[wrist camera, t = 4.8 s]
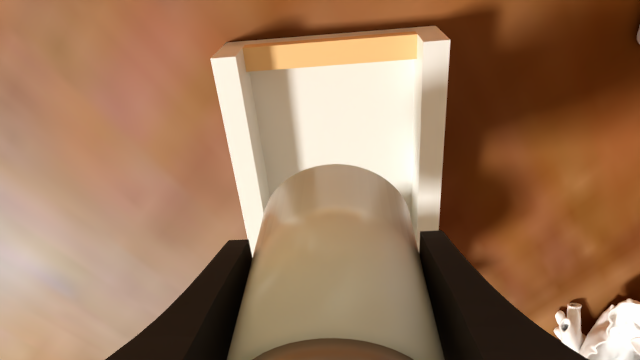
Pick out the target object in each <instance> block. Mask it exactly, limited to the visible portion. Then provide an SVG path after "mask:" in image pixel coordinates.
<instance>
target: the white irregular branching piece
mask: <svg viewBox="0 0 640 360" xmlns="http://www.w3.org/2000/svg"><path fill="white" fill-rule="evenodd" d="M581 307H582V305H581V304H579V303H570V304H568V307H567V318H566V317H565V314H564V312H563V311H561V310H559V311H558V312H557V313H556V315H555V317H556V320H557V323H558V324H559V326H557V327H556V328H555V329H554V333H555V334H556V336H557V337H558V338H559V339H560V340H561V342H562V343H564V344H565V345H567V346H568V347H570V348H571V349H573V350H574V351H576V352H577V353H579V354H581V355H582V356H584V357H585V358H587V359H589V360H640V302H638V301H636V300H633V299H630V298H628V299H627V300H625V301H622V302H620V303H618V304H617V305H616V306H614V305H613V304H612V305H611V306H610V307H609V308H608V309H607V310H606V311H604V312H603V313H602V315H601V316H600V317H599V319H598V320H597V321H596V323H595V325H594V326H593V327H592V329H591V330H590V332H589V333H588V334H587V336H585V335H584V334H582V332H581Z"/></svg>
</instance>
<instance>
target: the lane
mask: <svg viewBox="0 0 640 360" xmlns="http://www.w3.org/2000/svg"><path fill="white" fill-rule="evenodd" d="M449 55H450V39H449V38H448V37H447V36H446V35H445V34H444V33H443V32H442V31H441V30H440V29H439V28H438V27H437V26H425V27H412V28H400V29H387V30H375V31H362V32H350V33H338V34H325V35H313V36H300V37H288V38H275V39H263V40H250V41H238V42H226V43H225V44H224V45H223V46H222V47H221V48H220V49H219V50H218V51H217V52H216V53H215V54H214V55H213V56H212V57H211V58H210V59H211V64H212V69H213V74H214V79H215V83H216V88H217V93H218V98H219V103H220V107H221V112H222V117H223V122H224V127H225V131H226V136H227V141H228V146H229V151H230V156H231V160H232V165H233V170H234V175H235V180H236V184H237V189H238V194H239V199H240V204H241V208H242V213H243V218H244V223H245V228H246V233H247V237H248V240H249V244H250V248H251V253H252V258H253V254H254V250H255V246H256V242H257V239H258V235H259V231H260V227H261V223H262V219H263V215H264V211H265V208H266V205H267V203H268V201H269V199H270V197H271V195H272V194H273V193H274V191H275V190H276V189H277V188H278V187H279V186H280V185H281V184H282V183H283V182H284V181H285V180H287V179H288V178H290V177H291V176H293V175H295V174H296V173H298V172H301V171H303V170H305V169H308V168H312V167H315V166H320V165H326V164H345V165H352V166H358V167H361V168H364V169H367V170H370V171H372V172H374V173H376V174H378V175H380V176H381V177H383V178H385V179H386V180H387V181H389V182H390V183H391V184H392V185H393V186H394V187H395V188H396V189H397V190H398V191H399V193H400V194H401V195H402V197H403V198H404V200H405V202H406V204H407V207H408V210H409V214H410V218H411V222H412V226H413V230H414V234H415V239H416V243H417V247H418V251H419V247H420V231H437V230H439V216H440V200H441V184H442V167H443V151H444V135H445V119H446V103H447V87H448V71H449Z"/></svg>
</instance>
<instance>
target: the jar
mask: <svg viewBox="0 0 640 360" xmlns="http://www.w3.org/2000/svg"><path fill="white" fill-rule="evenodd" d="M227 360H445V359H444V355H443V351H442V347H441V342H440V338H439V334H438V330H437V326H436V322H435V317H434V313H433V309H432V305H431V301H430V297H429V293H428V288H427V284H426V280H425V276H424V272H423V268H422V263H421V259H420V255H419V251H418V247H417V243H416V239H415V234H414V230H413V226H412V222H411V218H410V214H409V210H408V207H407V204H406V202H405V200H404V198H403V197H402V195H401V194H400V193H399V191H398V190H397V189H396V188H395V187H394V186H393V185H392V184H391V183H390V182H389V181H387V180H386V179H385V178H383V177H381V176H380V175H378V174H376V173H374V172H372V171H370V170H367V169H364V168H361V167H358V166H352V165H345V164H326V165H320V166H315V167H312V168H308V169H305V170H303V171H301V172H298V173H296V174H295V175H293V176H291V177H290V178H288V179H287V180H285V181H284V182H283V183H282V184H281V185H280V186H279V187H278V188H277V189H276V190H275V191H274V193H273V194H272V195H271V197H270V199H269V201H268V203H267V205H266V208H265V211H264V215H263V219H262V223H261V227H260V231H259V235H258V239H257V242H256V246H255V250H254V254H253V258H252V262H251V266H250V270H249V274H248V278H247V282H246V286H245V290H244V294H243V298H242V301H241V305H240V309H239V313H238V317H237V321H236V325H235V329H234V333H233V337H232V341H231V345H230V349H229V353H228V356H227Z"/></svg>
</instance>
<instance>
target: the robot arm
mask: <svg viewBox="0 0 640 360" xmlns="http://www.w3.org/2000/svg"><path fill="white" fill-rule="evenodd" d="M637 41H638V43H639V44H640V26H639V30H638V34H637ZM419 255H420V259H421V263H422V268H423V272H424V276H425V280H426V284H427V288H428V293H429V297H430V301H431V305H432V309H433V313H434V317H435V322H436V326H437V330H438V334H439V338H440V342H441V347H442V351H443V355H444V359H445V360H589V359H587V358H585V357H584V356H582V355H581V354H579V353H577V352H576V351H574V350H573V349H571V348H570V347H568V346H567V345H565V344H564V343H562V342H561V341H559V340H558V339H556V338H555V337H553V336H552V335H550V334H549V333H547V332H546V331H545V330H543V329H542V328H541V327H539V326H538V325H537V324H535V323H534V322H533V321H531V320H530V319H529V318H528V317H526V316H525V315H524V314H523V313H521V312H520V311H519V310H518V309H517V308H515V307H514V306H513V305H512V304H511V303H510V302H509V301H507V300H506V299H505V298H504V297H503V296H502V295H501V294H500V293H499V292H498V291H497V290H496V289H494V288H493V287H492V286H491V285H490V284H489V283H488V282H487V281H486V280H485V279H484V278H483V276H482V275H481V274H480V273H479V272H478V271H477V270H476V269H475V268H474V267H473V266H472V265H471V264H470V263H469V262H468V261H467V259H466V258H465V257H464V256H463V255H462V254H461V253H460V251H459V250H458V249H457V248H456V247H455V245H454V244H453V243H452V242H451V241H450V239H449V238H448V237H447V236H446V234H445V233H444V232H443V231H441V230H437V231H420V247H419ZM251 262H252V253H251V248H250V244H249V240H229V241H228V242H227V243H226V244H225V245H224V246H223V248H222V249H221V250H220V251H219V252H218V253H217V255H216V256H215V257H214V258H213V259H212V261H211V262H210V263H209V264H208V265H207V267H206V268H205V269H204V270H203V271H202V272H201V273H200V275H199V276H198V277H197V278H196V279H195V280H194V281H193V282H192V284H191V285H190V286H189V287H188V288H187V289H186V290H185V291H184V292H183V293H182V294H181V295H180V296H179V297H178V298H177V299H176V300H175V301H174V302H173V303H172V305H171V306H170V307H169V308H168V309H167V310H166V311H165V312H163V313H162V314H161V315H160V316H159V317H158V318H157V319H156V320H155V321H154V322H152V323H151V324H150V325H149V326H148V327H147V328H145V329H144V330H143V331H142V332H141V333H140V334H138V335H137V336H136V337H135V338H133V339H132V340H131V341H129V342H128V343H127V344H125V345H124V346H123V347H121V348H120V349H119V350H117V351H116V352H115V353H113V354H112V355H111V356H109V357H108V358H107V359H105V360H227V356H228V353H229V349H230V345H231V341H232V337H233V333H234V329H235V325H236V321H237V317H238V313H239V309H240V305H241V301H242V298H243V294H244V290H245V286H246V282H247V278H248V274H249V270H250V266H251Z"/></svg>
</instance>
